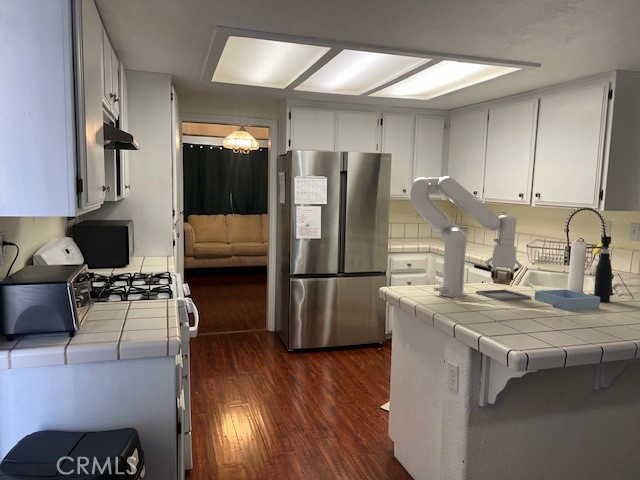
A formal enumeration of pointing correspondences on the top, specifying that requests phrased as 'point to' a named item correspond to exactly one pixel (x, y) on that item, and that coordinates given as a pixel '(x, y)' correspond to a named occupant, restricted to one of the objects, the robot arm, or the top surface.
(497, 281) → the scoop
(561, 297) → the bin
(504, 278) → the stone
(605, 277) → the dark water bottle
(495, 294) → the tray
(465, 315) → the top surface
